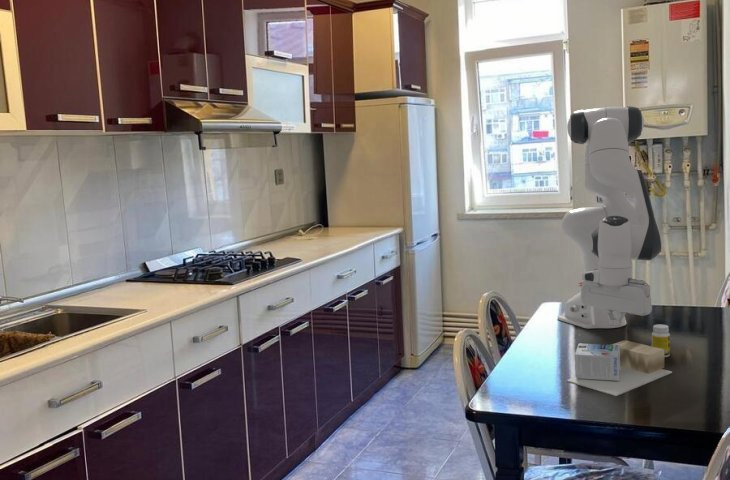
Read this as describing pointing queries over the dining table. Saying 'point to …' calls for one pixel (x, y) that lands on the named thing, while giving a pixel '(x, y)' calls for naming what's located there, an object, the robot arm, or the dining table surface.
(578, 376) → the light bulb box
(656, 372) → the mat
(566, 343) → the dining table surface
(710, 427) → the dining table surface
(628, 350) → the beech block
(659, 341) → the supplement bottle
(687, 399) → the dining table surface
